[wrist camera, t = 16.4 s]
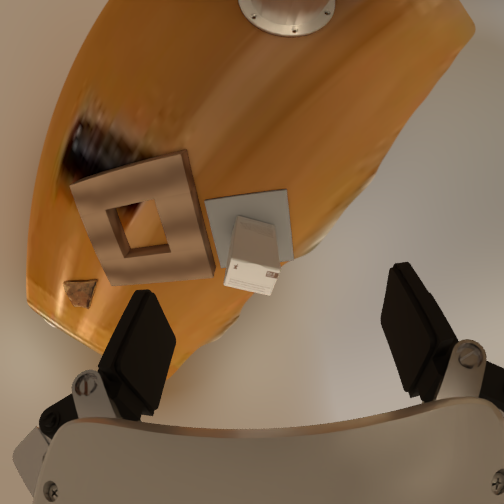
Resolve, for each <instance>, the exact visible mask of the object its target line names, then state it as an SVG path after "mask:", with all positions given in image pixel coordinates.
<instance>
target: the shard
mask: <svg viewBox="0 0 504 504" xmlns="http://www.w3.org/2000/svg"><path fill="white" fill-rule="evenodd" d="M63 285H64V289H65V292H66V293H67V295H68V297H69V299H70V301H71V303H72V304H73V306H75V307H85V308H88V309H89V308H90V304H91V299H92V297H93V294H94V291H95V288H96V285H97V279H95V280H89V281H82V282H68V281H67V282H64V283H63Z"/></svg>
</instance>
